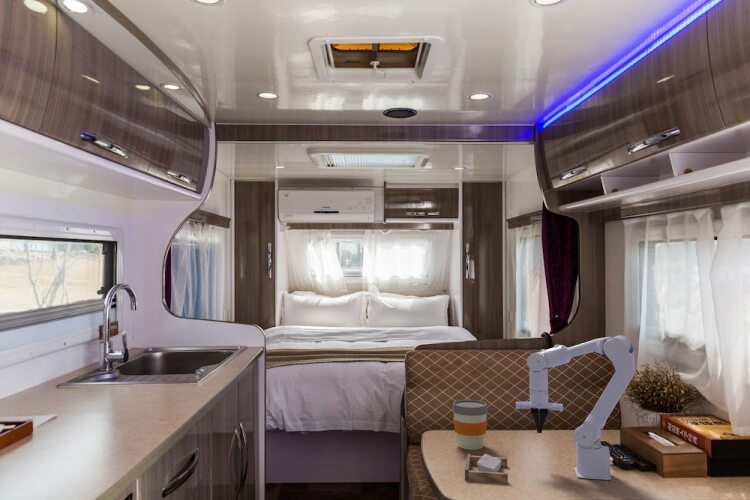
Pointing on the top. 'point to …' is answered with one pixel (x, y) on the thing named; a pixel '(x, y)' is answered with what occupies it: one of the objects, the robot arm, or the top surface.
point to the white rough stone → (488, 464)
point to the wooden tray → (484, 475)
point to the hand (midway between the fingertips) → (539, 432)
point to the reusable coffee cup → (470, 423)
